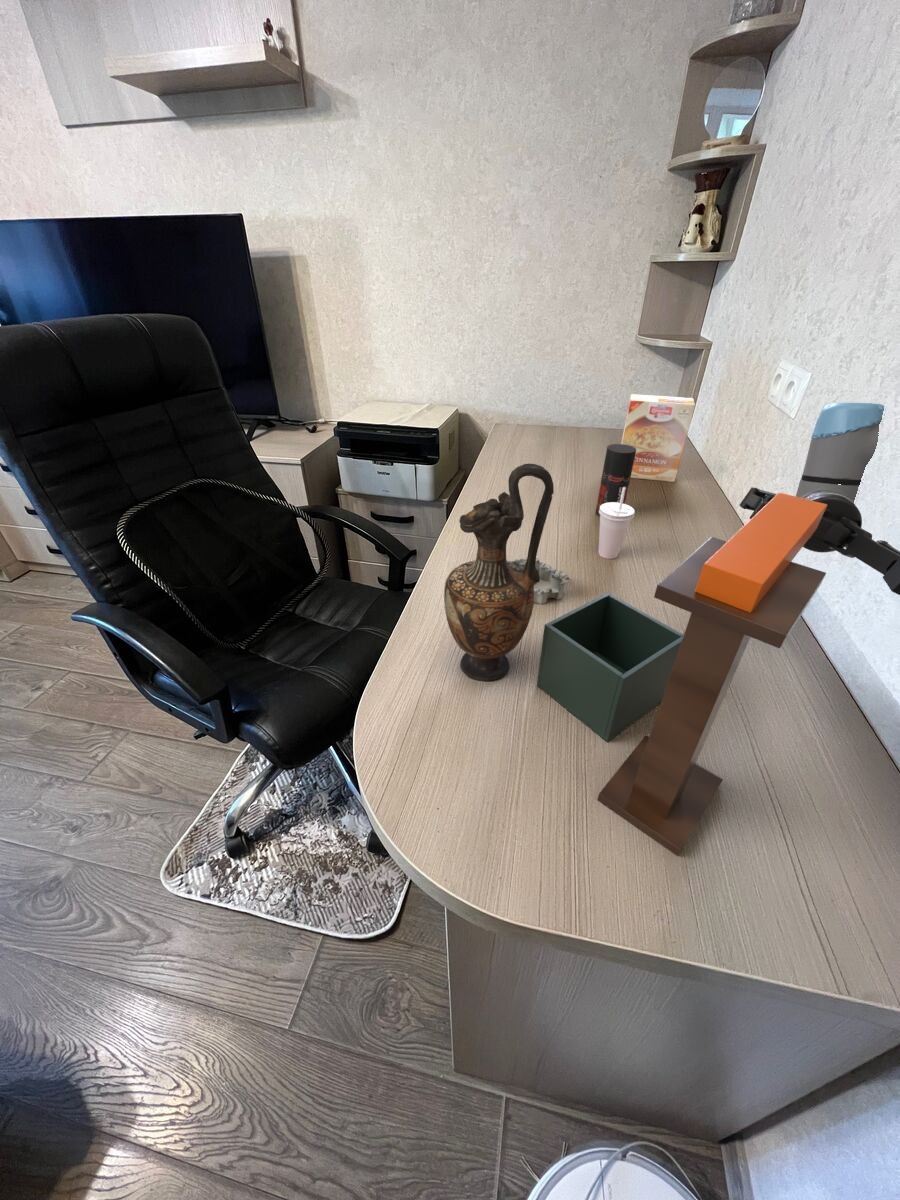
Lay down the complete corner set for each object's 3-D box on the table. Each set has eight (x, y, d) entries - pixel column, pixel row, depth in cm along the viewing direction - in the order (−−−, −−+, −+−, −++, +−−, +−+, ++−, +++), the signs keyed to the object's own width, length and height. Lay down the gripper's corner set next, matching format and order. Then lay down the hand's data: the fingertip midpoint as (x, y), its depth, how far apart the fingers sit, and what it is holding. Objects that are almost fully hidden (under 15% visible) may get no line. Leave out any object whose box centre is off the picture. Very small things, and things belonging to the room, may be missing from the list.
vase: (451, 636, 78) (452, 443, 60) (532, 645, 76) (556, 449, 59) (438, 690, 68) (434, 479, 51) (530, 701, 66) (557, 487, 49)
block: (769, 516, 48) (778, 492, 47) (816, 529, 46) (828, 504, 45) (694, 592, 38) (703, 563, 36) (750, 613, 35) (763, 584, 34)
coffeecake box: (615, 476, 133) (630, 399, 121) (616, 467, 138) (630, 393, 127) (675, 482, 129) (696, 404, 118) (673, 473, 135) (693, 397, 123)
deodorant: (605, 506, 117) (618, 442, 109) (627, 514, 114) (642, 448, 105) (590, 513, 114) (601, 447, 106) (612, 521, 110) (625, 455, 102)
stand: (643, 741, 61) (711, 536, 45) (719, 786, 56) (826, 572, 40) (597, 800, 54) (657, 584, 38) (678, 856, 49) (786, 635, 33)
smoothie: (611, 565, 95) (626, 496, 87) (584, 553, 99) (596, 486, 91) (631, 555, 98) (647, 487, 90) (604, 543, 102) (617, 477, 94)
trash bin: (666, 698, 67) (688, 637, 61) (607, 742, 61) (624, 679, 55) (595, 650, 75) (607, 592, 69) (536, 685, 69) (544, 624, 63)
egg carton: (569, 598, 86) (573, 578, 84) (531, 608, 84) (533, 587, 82) (538, 568, 94) (540, 549, 92) (502, 576, 92) (504, 557, 90)
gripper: (901, 591, 66) (939, 643, 49) (720, 503, 75) (700, 522, 58) (947, 542, 63) (1006, 580, 46) (752, 456, 71) (740, 461, 54)
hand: (834, 548), depth 52 cm, fingers open, 13 cm apart
